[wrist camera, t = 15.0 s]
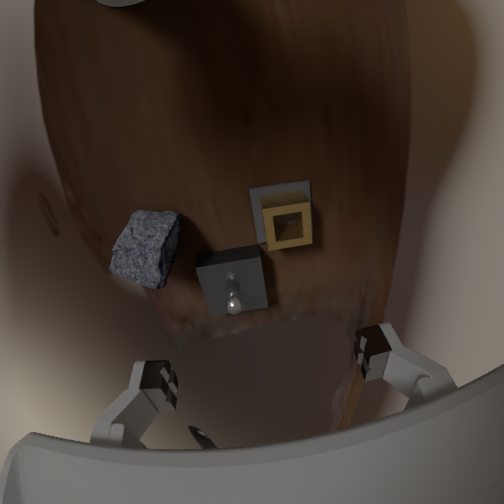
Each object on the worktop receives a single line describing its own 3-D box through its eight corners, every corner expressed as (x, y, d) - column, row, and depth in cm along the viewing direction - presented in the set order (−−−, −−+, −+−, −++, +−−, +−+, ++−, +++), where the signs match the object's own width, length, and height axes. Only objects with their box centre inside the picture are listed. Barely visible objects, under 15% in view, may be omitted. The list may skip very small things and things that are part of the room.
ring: (259, 196, 44) (262, 209, 39) (301, 190, 44) (309, 202, 39) (264, 234, 47) (268, 250, 43) (304, 228, 47) (312, 243, 42)
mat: (249, 188, 44) (249, 189, 43) (308, 179, 43) (309, 180, 43) (257, 241, 48) (258, 243, 48) (312, 232, 48) (313, 234, 47)
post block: (197, 254, 48) (192, 287, 41) (258, 244, 48) (264, 276, 40) (211, 301, 53) (209, 336, 46) (265, 292, 53) (272, 327, 46)
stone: (196, 215, 47) (182, 273, 49) (141, 200, 47) (129, 257, 48) (175, 220, 35) (159, 296, 37) (107, 201, 35) (95, 274, 37)
